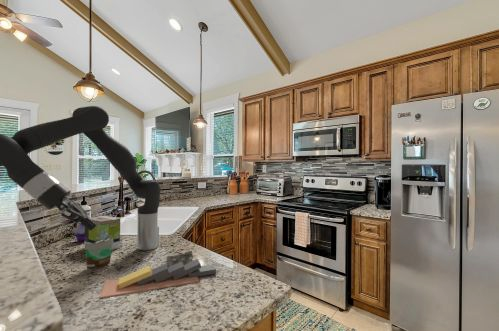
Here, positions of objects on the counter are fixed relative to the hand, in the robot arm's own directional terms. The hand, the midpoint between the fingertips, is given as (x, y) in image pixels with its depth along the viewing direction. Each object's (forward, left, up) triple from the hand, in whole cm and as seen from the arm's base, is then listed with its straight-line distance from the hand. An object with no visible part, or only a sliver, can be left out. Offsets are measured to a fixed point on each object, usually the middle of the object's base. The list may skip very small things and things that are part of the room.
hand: (94, 227), depth 81 cm
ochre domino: (-5, +5, -19) cm, 21 cm away
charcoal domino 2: (-13, +13, -19) cm, 27 cm away
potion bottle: (-36, -57, -20) cm, 71 cm away
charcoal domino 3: (-17, +17, -19) cm, 31 cm away
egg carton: (-30, +10, -21) cm, 38 cm away
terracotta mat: (-13, +12, -20) cm, 27 cm away
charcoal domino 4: (-21, +21, -19) cm, 35 cm away
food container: (-17, -17, -20) cm, 32 cm away
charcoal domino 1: (-9, +9, -19) cm, 23 cm away
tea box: (-32, -37, -21) cm, 53 cm away
